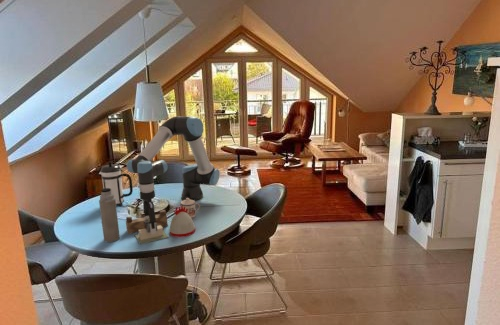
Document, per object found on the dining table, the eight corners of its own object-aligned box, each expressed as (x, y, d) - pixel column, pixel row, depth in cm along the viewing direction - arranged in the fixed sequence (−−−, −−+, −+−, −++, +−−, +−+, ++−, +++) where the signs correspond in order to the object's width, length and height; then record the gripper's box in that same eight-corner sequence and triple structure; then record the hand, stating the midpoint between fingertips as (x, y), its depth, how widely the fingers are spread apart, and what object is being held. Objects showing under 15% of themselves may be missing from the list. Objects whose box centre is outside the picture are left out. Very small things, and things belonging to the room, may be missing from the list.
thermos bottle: (107, 235, 204) (101, 186, 197) (122, 235, 203) (116, 186, 197) (101, 242, 196) (94, 191, 189) (116, 242, 196) (110, 191, 189)
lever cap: (153, 225, 204) (152, 215, 203) (157, 230, 197) (156, 220, 196) (144, 227, 202) (143, 217, 201) (148, 232, 195) (147, 222, 193)
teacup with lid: (184, 220, 223) (182, 201, 220) (179, 215, 230) (177, 197, 228) (202, 215, 228) (201, 197, 226) (197, 211, 236) (196, 194, 233)
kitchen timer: (165, 231, 208) (163, 205, 204) (187, 224, 216) (185, 200, 212) (176, 239, 197) (174, 212, 194) (199, 232, 205) (198, 206, 202)
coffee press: (112, 210, 242) (107, 165, 235) (98, 205, 252) (93, 162, 245) (134, 202, 256) (130, 160, 249) (121, 198, 265) (116, 157, 258)
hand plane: (165, 222, 219) (164, 209, 217) (167, 225, 215) (166, 211, 213) (126, 230, 209) (125, 216, 207) (128, 234, 205) (127, 219, 203)
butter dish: (162, 229, 209) (161, 222, 208) (168, 237, 199) (167, 229, 198) (135, 235, 202) (134, 228, 201) (139, 244, 192) (139, 236, 191)
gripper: (135, 186, 202) (139, 224, 208) (144, 197, 183) (149, 239, 189) (149, 184, 206) (152, 222, 211) (159, 195, 187) (163, 236, 192)
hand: (150, 230), depth 200 cm, fingers open, 10 cm apart
